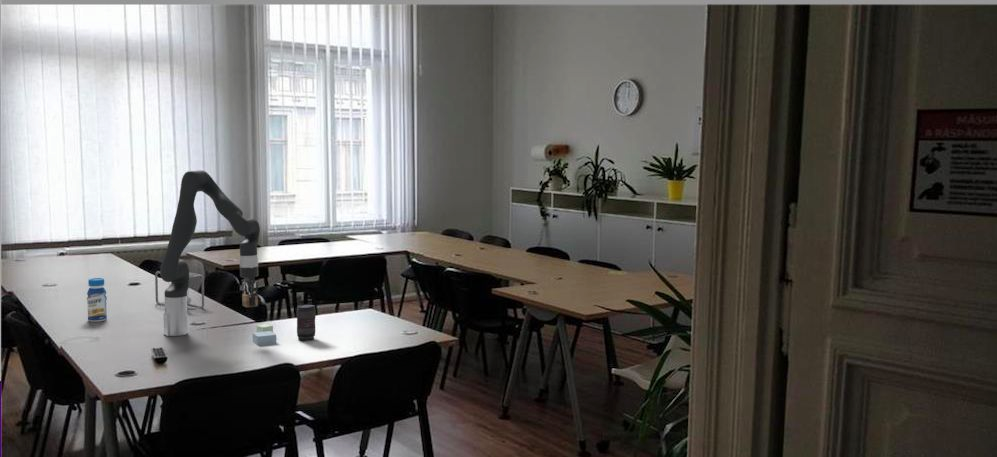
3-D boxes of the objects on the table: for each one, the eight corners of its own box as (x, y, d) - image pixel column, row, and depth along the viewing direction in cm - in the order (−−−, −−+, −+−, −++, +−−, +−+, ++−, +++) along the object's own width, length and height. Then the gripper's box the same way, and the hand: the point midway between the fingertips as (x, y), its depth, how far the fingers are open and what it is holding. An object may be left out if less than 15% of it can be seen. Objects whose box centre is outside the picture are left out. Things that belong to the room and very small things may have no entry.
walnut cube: (246, 307, 337) (246, 295, 337) (242, 305, 341) (242, 294, 341) (257, 306, 340) (257, 294, 340) (253, 304, 344) (253, 293, 344)
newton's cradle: (155, 303, 422) (154, 270, 420) (173, 301, 430) (173, 268, 428) (186, 311, 403) (185, 277, 402) (204, 308, 412) (204, 274, 410)
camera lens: (319, 338, 351) (318, 304, 350) (309, 342, 344) (309, 308, 342) (302, 336, 354) (302, 303, 352) (293, 340, 346) (293, 306, 344)
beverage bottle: (111, 318, 382) (109, 277, 381) (100, 322, 374) (99, 280, 372) (94, 318, 383) (93, 277, 381) (83, 321, 375) (82, 280, 373)
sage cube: (263, 338, 349) (263, 327, 349) (256, 336, 352) (256, 325, 352) (273, 336, 353) (272, 325, 353) (266, 334, 356) (266, 324, 356)
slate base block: (257, 345, 337) (257, 336, 336) (252, 341, 344) (252, 332, 343) (276, 343, 341) (276, 334, 341) (271, 339, 348) (271, 331, 347)
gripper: (234, 264, 342) (236, 303, 344) (246, 268, 331) (247, 308, 332) (251, 263, 347) (253, 301, 348) (263, 266, 335) (264, 306, 337)
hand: (250, 304), depth 340 cm, fingers closed on walnut cube, 5 cm apart
